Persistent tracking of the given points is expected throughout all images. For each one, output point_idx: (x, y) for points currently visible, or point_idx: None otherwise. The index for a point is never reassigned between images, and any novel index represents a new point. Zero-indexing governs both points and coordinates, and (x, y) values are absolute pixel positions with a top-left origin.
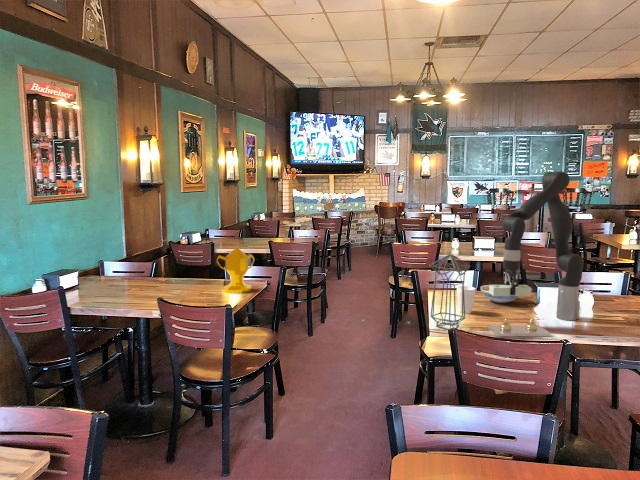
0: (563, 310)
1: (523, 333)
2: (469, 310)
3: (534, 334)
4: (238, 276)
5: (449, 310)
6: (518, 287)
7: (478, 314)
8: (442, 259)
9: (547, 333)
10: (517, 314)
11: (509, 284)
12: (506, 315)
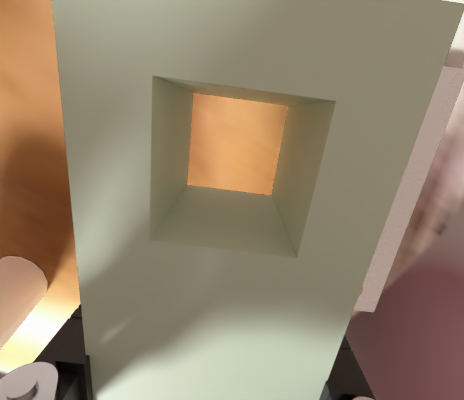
0: None
1: (410, 214)
2: (34, 283)
3: (427, 161)
4: None
5: None
6: (320, 319)
7: (54, 241)
8: None
9: (459, 89)
10: (25, 18)
11: (79, 372)
12: (57, 107)
